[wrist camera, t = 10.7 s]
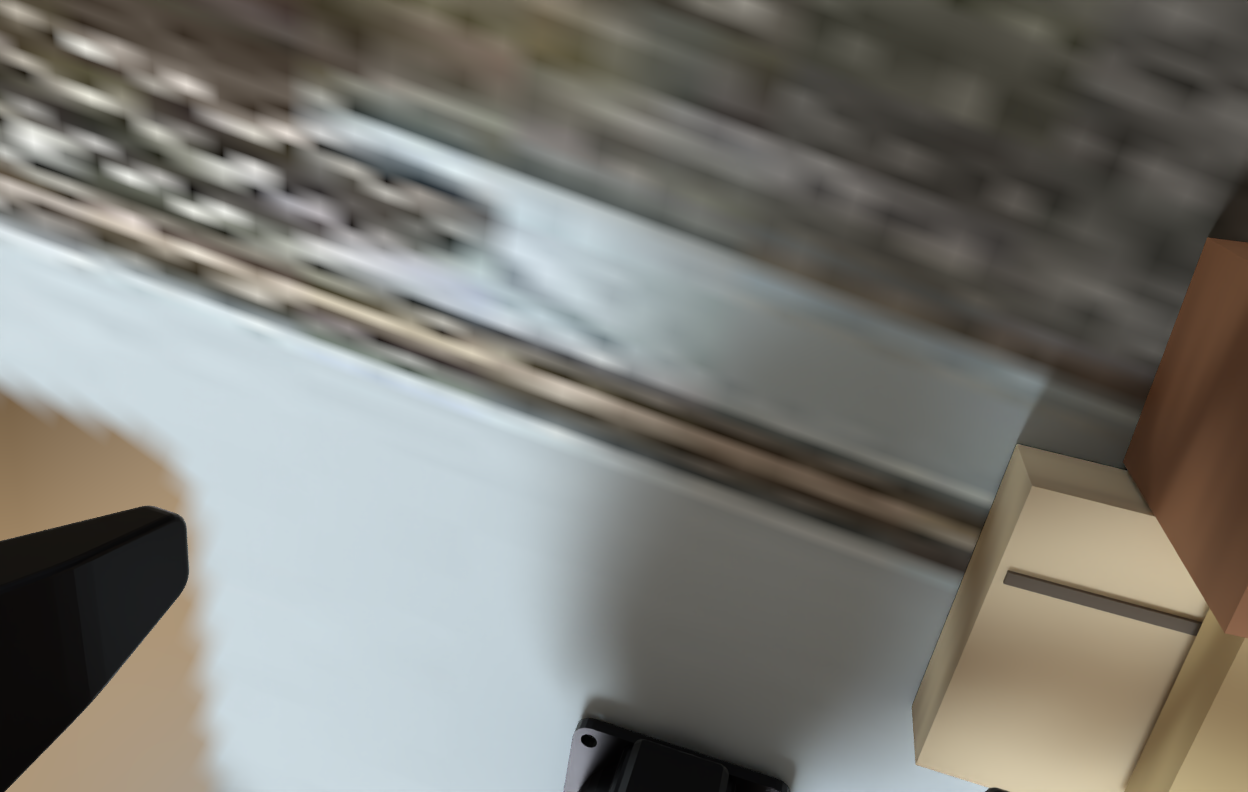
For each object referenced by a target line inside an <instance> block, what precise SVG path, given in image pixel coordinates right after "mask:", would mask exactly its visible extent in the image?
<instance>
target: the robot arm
mask: <svg viewBox="0 0 1248 792" xmlns="http://www.w3.org/2000/svg"><path fill="white" fill-rule="evenodd" d="M188 575H189V561H188V545H187V528H186V523H185V521H184V519H183V518H182V517H181V516H180V515H178V514H176V513H173V512H170V511H167V510H164V509H161V508H158V507H155V506H142V507H138V508H134V509H130V510H126V511H121V512H117V513H113V514H110V515H105V516H101V517H97V518H93V519H89V520H85V521H81V522H76V523H72V524H68V525H64V526H61V527H56V528H52V529H48V530H44V531H40V532H36V533H31V534H28V535H24V536H20V537H15V538H11V539H7V540H3V541H0V792H5V791H6V790H7V789H8V788H9V787H10V786H11V785H12V784H13V783H14V782H15V781H16V780H17V779H18V778H19V777H20V776H21V775H22V774H23V773H24V771H25V770H26V769H27V768H28V767H29V766H30V765H31V764H32V763H33V762H34V761H35V760H36V759H37V758H38V757H39V756H40V755H41V754H42V753H43V752H44V751H45V750H46V749H47V748H48V747H49V746H50V745H51V744H52V743H53V742H54V741H55V740H56V739H57V738H58V737H59V736H60V735H61V734H62V733H63V732H64V731H65V730H66V729H67V727H69V726H70V725H71V724H72V723H73V722H74V720H75V719H76V718H77V717H78V716H79V715H80V714H81V713H82V712H83V711H84V710H85V709H86V708H87V706H88V705H89V704H90V703H91V702H92V701H93V700H94V699H95V698H96V696H97V695H98V694H99V693H100V692H101V691H102V690H103V688H104V687H105V686H106V685H107V684H108V683H109V681H110V680H111V679H112V678H113V676H114V675H115V674H116V673H117V672H118V670H119V669H120V667H122V665H123V664H124V663H125V662H126V660H127V659H128V658H129V657H130V656H131V654H132V653H133V652H134V651H135V649H136V648H137V647H138V645H140V643H141V642H142V641H143V639H144V638H145V637H146V636H147V635H148V633H149V632H150V631H151V630H152V629H153V627H154V626H155V625H156V624H157V622H158V621H159V620H160V618H162V616H163V615H164V614H165V613H166V611H167V610H168V609H169V608H170V606H171V605H172V604H173V603H174V602H175V600H176V599H177V598H178V597H179V595H180V594H181V592H182V591H183V589H184V587H185V585H186V583H187V580H188ZM587 734H588V735H591V736H593V737H594V738H593V737H590V736H588V735H587ZM564 792H790V790H789V788H788V786H787V785H786V784H785V783H784V782H783V781H781V780H779V779H777V778H774V777H771V776H768V775H765V774H762V773H759V772H756V771H753V770H750V769H747V768H743V767H740V766H737V765H734V764H731V763H728V762H725V761H722V760H719V759H716V758H713V757H710V756H707V755H704V754H701V753H698V752H694V751H691V750H688V749H685V748H682V747H679V746H676V745H673V744H670V743H667V742H664V741H661V740H658V739H655V738H652V737H649V736H645V735H642V734H639V733H636V732H633V731H630V730H627V729H624V728H621V727H618V726H615V725H612V724H609V723H606V722H603V721H599V720H596V719H592V718H586V719H582V720H581V721H580V722H579V723H578V725H577V728H576V730H575V732H574V735H573V739H572V745H571V750H570V756H569V762H568V768H567V774H566V780H565V786H564ZM985 792H1009V791H1006V790H1003V789H1000V788H996V787H993V788H989V789H988V790H987V791H985Z"/></svg>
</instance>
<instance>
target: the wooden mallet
mask: <svg viewBox="0 0 1248 792" xmlns="http://www.w3.org/2000/svg"><path fill="white" fill-rule="evenodd" d="M1123 463H1124V465H1125V467H1126V468H1127V470H1128V472H1129V473H1130V475H1131V477H1132V478H1133V480H1134V482H1135V483H1136V485H1137V487H1138V488H1139V490H1140V492H1141V493H1142V495H1143V497H1144V499H1145V500H1146V502H1147V504H1148V505H1149V507H1150V509H1151V510H1152V512H1153V514H1154V515H1155V517H1156V519H1157V520H1158V522H1159V524H1160V525H1161V527H1162V529H1163V531H1164V532H1165V534H1166V536H1167V537H1168V539H1169V541H1170V542H1171V544H1172V546H1173V547H1174V549H1175V551H1176V552H1177V554H1178V556H1179V557H1180V559H1181V561H1182V562H1183V564H1184V566H1185V568H1186V569H1187V571H1188V573H1189V574H1190V576H1191V578H1192V579H1193V581H1194V583H1195V584H1196V586H1197V588H1198V589H1199V591H1200V593H1201V594H1202V596H1203V598H1204V600H1205V601H1206V603H1207V605H1208V606H1209V610H1208V612H1207V615H1206V617H1205V619H1204V621H1203V623H1202V625H1201V627H1200V630H1199V632H1198V634H1197V636H1196V638H1195V640H1194V642H1193V645H1192V647H1191V649H1190V651H1189V653H1188V655H1187V658H1186V660H1185V662H1184V664H1183V666H1182V668H1181V670H1180V673H1179V675H1178V677H1177V679H1176V681H1175V683H1174V685H1173V688H1172V690H1171V692H1170V694H1169V696H1168V698H1167V701H1166V703H1165V705H1164V707H1163V709H1162V711H1161V713H1160V716H1159V718H1158V720H1157V722H1156V724H1155V726H1154V728H1153V731H1152V733H1151V735H1150V737H1149V739H1148V741H1147V744H1146V746H1145V748H1144V750H1143V752H1142V754H1141V756H1140V759H1139V761H1138V763H1137V765H1136V767H1135V769H1134V771H1133V774H1132V776H1131V778H1130V780H1129V782H1128V784H1127V787H1126V789H1125V791H1124V792H1248V243H1247V242H1239V241H1231V240H1224V239H1216V238H1208V237H1207V240H1206V242H1205V245H1204V248H1203V250H1202V253H1201V256H1200V258H1199V261H1198V264H1197V266H1196V269H1195V272H1194V274H1193V277H1192V280H1191V282H1190V285H1189V288H1188V290H1187V293H1186V296H1185V298H1184V301H1183V303H1182V306H1181V309H1180V311H1179V314H1178V317H1177V319H1176V322H1175V325H1174V327H1173V330H1172V333H1171V335H1170V338H1169V341H1168V343H1167V346H1166V349H1165V351H1164V354H1163V357H1162V359H1161V362H1160V365H1159V367H1158V370H1157V373H1156V375H1155V378H1154V380H1153V383H1152V386H1151V388H1150V391H1149V394H1148V396H1147V399H1146V402H1145V404H1144V407H1143V410H1142V412H1141V415H1140V418H1139V420H1138V423H1137V426H1136V428H1135V431H1134V434H1133V436H1132V439H1131V442H1130V444H1129V447H1128V450H1127V452H1126V455H1125V458H1124V460H1123Z"/></svg>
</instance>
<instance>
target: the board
mask: <svg viewBox="0 0 1248 792" xmlns="http://www.w3.org/2000/svg"><path fill="white" fill-rule="evenodd" d="M1208 610H1209V606H1208V605H1207V603H1206V601H1205V600H1204V598H1203V596H1202V594H1201V593H1200V591H1199V589H1198V588H1197V586H1196V584H1195V583H1194V581H1193V579H1192V578H1191V576H1190V574H1189V573H1188V571H1187V569H1186V568H1185V566H1184V564H1183V562H1182V561H1181V559H1180V557H1179V556H1178V554H1177V552H1176V551H1175V549H1174V547H1173V546H1172V544H1171V542H1170V541H1169V539H1168V537H1167V536H1166V534H1165V532H1164V531H1163V529H1162V527H1161V525H1160V524H1159V522H1158V520H1157V519H1156V517H1155V515H1154V514H1153V512H1152V510H1151V509H1150V507H1149V505H1148V504H1147V502H1146V500H1145V499H1144V497H1143V495H1142V493H1141V492H1140V490H1139V488H1138V487H1137V485H1136V483H1135V482H1134V480H1133V478H1132V477H1131V475H1130V473H1129V472H1128V471H1127V470H1123V469H1119V468H1115V467H1111V466H1106V465H1102V464H1098V463H1094V462H1090V461H1086V460H1082V459H1078V458H1074V457H1069V456H1065V455H1061V454H1057V453H1053V452H1049V451H1045V450H1041V449H1036V448H1032V447H1028V446H1024V445H1020V444H1016V447H1015V449H1014V452H1013V454H1012V457H1011V459H1010V462H1009V464H1008V467H1007V469H1006V472H1005V474H1004V477H1003V479H1002V482H1001V484H1000V487H999V489H998V492H997V494H996V497H995V499H994V502H993V504H992V507H991V509H990V512H989V514H988V517H987V519H986V522H985V524H984V527H983V529H982V532H981V534H980V537H979V539H978V542H977V544H976V547H975V549H974V552H973V555H972V557H971V560H970V562H969V565H968V567H967V570H966V572H965V575H964V577H963V580H962V582H961V585H960V587H959V590H958V592H957V595H956V597H955V600H954V602H953V605H952V607H951V610H950V612H949V615H948V617H947V620H946V622H945V625H944V627H943V630H942V632H941V635H940V637H939V640H938V642H937V645H936V647H935V650H934V652H933V655H932V657H931V660H930V662H929V665H928V667H927V670H926V672H925V675H924V677H923V680H922V682H921V685H920V687H919V690H918V692H917V695H916V697H915V700H914V702H913V705H912V717H913V732H914V748H915V763H916V765H918V766H921V767H925V768H928V769H931V770H934V771H937V772H940V773H944V774H947V775H950V776H953V777H956V778H960V779H963V780H966V781H969V782H972V783H975V784H979V785H982V786H985V787H988V788H993V787H996V788H1000V789H1003V790H1006V791H1009V792H1124V791H1125V789H1126V787H1127V784H1128V782H1129V780H1130V778H1131V776H1132V774H1133V771H1134V769H1135V767H1136V765H1137V763H1138V761H1139V759H1140V756H1141V754H1142V752H1143V750H1144V748H1145V746H1146V744H1147V741H1148V739H1149V737H1150V735H1151V733H1152V731H1153V728H1154V726H1155V724H1156V722H1157V720H1158V718H1159V716H1160V713H1161V711H1162V709H1163V707H1164V705H1165V703H1166V701H1167V698H1168V696H1169V694H1170V692H1171V690H1172V688H1173V685H1174V683H1175V681H1176V679H1177V677H1178V675H1179V673H1180V670H1181V668H1182V666H1183V664H1184V662H1185V660H1186V658H1187V655H1188V653H1189V651H1190V649H1191V647H1192V645H1193V642H1194V640H1195V638H1196V636H1197V634H1198V632H1199V630H1200V627H1201V625H1202V623H1203V621H1204V619H1205V617H1206V615H1207V612H1208Z"/></svg>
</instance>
